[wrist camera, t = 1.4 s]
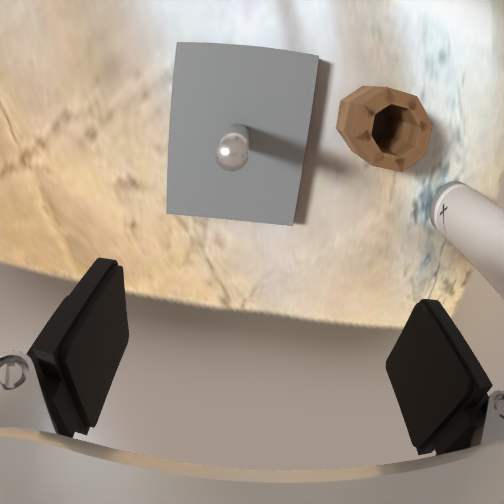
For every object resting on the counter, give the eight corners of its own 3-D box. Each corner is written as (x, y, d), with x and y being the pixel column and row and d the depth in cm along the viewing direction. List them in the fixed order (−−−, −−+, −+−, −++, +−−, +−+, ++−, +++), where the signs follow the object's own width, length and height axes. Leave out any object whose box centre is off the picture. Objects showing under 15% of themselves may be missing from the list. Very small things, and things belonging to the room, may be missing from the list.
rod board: (180, 44, 24) (176, 42, 23) (315, 57, 24) (319, 55, 23) (170, 208, 31) (166, 213, 30) (290, 219, 32) (292, 226, 31)
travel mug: (417, 207, 31) (534, 330, 14) (457, 169, 29) (593, 262, 11) (441, 244, 33) (541, 364, 16) (478, 208, 31) (592, 308, 14)
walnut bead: (343, 81, 26) (364, 80, 20) (405, 97, 26) (436, 102, 21) (332, 147, 29) (350, 162, 23) (393, 159, 29) (420, 176, 24)
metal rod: (227, 122, 26) (216, 137, 18) (250, 124, 26) (250, 141, 18) (224, 144, 27) (213, 170, 19) (247, 146, 27) (246, 173, 19)
